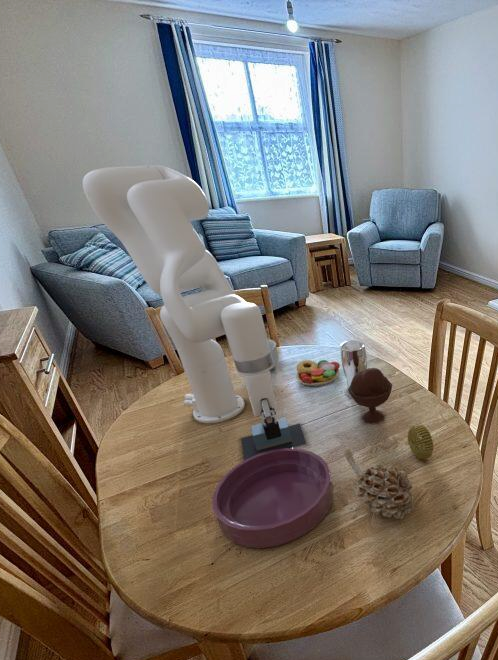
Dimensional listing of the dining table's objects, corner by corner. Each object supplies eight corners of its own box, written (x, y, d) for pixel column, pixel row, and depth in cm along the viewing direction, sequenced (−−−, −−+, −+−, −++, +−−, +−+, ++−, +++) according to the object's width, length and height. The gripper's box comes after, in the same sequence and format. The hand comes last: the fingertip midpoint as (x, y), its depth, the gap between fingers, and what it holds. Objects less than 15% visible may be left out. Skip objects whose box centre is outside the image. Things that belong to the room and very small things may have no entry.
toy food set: (297, 368, 131) (295, 359, 129) (339, 364, 134) (338, 355, 132) (296, 390, 120) (294, 380, 118) (342, 384, 122) (340, 375, 121)
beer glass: (346, 386, 122) (340, 340, 114) (370, 385, 122) (366, 339, 114) (344, 399, 116) (338, 351, 108) (369, 398, 116) (364, 350, 108)
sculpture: (405, 448, 97) (404, 420, 93) (420, 442, 99) (419, 415, 95) (420, 468, 91) (420, 440, 87) (436, 462, 93) (436, 434, 89)
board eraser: (256, 450, 96) (252, 436, 94) (255, 440, 99) (250, 425, 97) (291, 441, 99) (288, 426, 97) (289, 431, 102) (285, 417, 100)
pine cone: (429, 513, 81) (429, 475, 75) (392, 543, 75) (389, 504, 70) (360, 460, 94) (356, 425, 89) (324, 482, 88) (317, 446, 83)
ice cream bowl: (396, 406, 112) (394, 358, 105) (389, 431, 103) (385, 380, 95) (358, 404, 113) (353, 356, 106) (347, 428, 104) (341, 377, 96)
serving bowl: (197, 546, 74) (187, 525, 71) (251, 464, 92) (245, 445, 90) (313, 554, 73) (309, 533, 70) (345, 469, 91) (342, 450, 88)
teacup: (287, 363, 134) (282, 341, 130) (265, 379, 125) (260, 356, 121) (252, 357, 138) (247, 335, 134) (229, 372, 129) (222, 349, 125)
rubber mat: (244, 461, 93) (243, 460, 93) (241, 439, 100) (241, 438, 100) (306, 444, 98) (306, 443, 98) (299, 424, 105) (299, 423, 105)
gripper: (233, 349, 93) (251, 412, 102) (237, 383, 80) (258, 452, 88) (267, 343, 96) (282, 404, 104) (277, 374, 82) (294, 442, 91)
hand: (271, 426), depth 96 cm, fingers open, 9 cm apart
